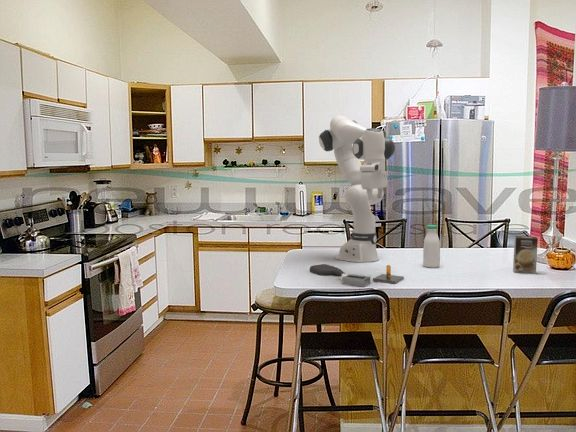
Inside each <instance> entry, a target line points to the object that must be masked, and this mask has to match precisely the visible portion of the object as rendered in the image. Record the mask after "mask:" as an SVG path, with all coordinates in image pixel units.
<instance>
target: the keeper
mask: <svg viewBox="0 0 576 432" xmlns="http://www.w3.org/2000/svg"><path fill="white" fill-rule="evenodd" d="M385 267H386V269H385V270H386V273H385V274H384V273H380V274H379V275H377V276H375V277H374V278H372V282H377V283H384V284H391V285H396V284H398V283H399V282H401V281H403V280H404V279H405V277H404V276H405V275H404V276H401V275H395V274H392V272H391V271H392V267H391V265H390V264H388V265H386V266H385Z"/></svg>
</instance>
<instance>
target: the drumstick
mask: <svg viewBox="0 0 576 432" xmlns="http://www.w3.org/2000/svg"><path fill="white" fill-rule="evenodd" d="M309 271H310V273H313V274H315V275H319V276H324V277H325V276H328V277H329V276H335V278H336V279H339V280H340V281H342V277H344V276H346V275H348V274H347V273H345V271H343V269H341V268H339V267H337V266H334V265H330V264H326V263H322V264H314V265H310V267H309Z"/></svg>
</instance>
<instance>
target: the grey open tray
mask: <svg viewBox="0 0 576 432" xmlns="http://www.w3.org/2000/svg"><path fill="white" fill-rule="evenodd" d="M341 281H342V282H341V284H342V285H345V286H352V287H353V286H354V287H362V288H366V287H368V286H370V285H371V276H364V275H356V274H347V275H346V276H344V277H342V280H341Z"/></svg>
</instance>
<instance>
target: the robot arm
mask: <svg viewBox="0 0 576 432" xmlns="http://www.w3.org/2000/svg"><path fill="white" fill-rule="evenodd" d="M318 142H319V145H320V147H321V148H322V149H323V151H325V152H331V151H333V153H334V157H335V160H336V164H337V165H338V168H339V170H340V172H341V174H342V176H343V179H344V180H345V181H346V182H348V183H349V184H350V185H351V186H350V187H348V188H347V189H346V190H345V193H344V199H345V202H346V204H347V205H348V206H349V207H350V209H351V212H352V217H353V219H352V220H353V231H352V232H351V233H349V235H348V236H349V237H350V239H348V241H346V242H345V243H343V244H342V245H341V246H340V248H339V253H338V254H337V255H335V256H334V259H335V260H338V261H339V260H340V261H347V262H352V263H365V262H366V263H367V262H376V261H378V260H379V257H378V251H377V232H376V216H375V215H374V214H373V213H372V210H371V209H372V208H371V206H372V205H373V206H374V205H376V204H378V203H380V202H381V201H382V200H383V198H384V195H385V193H384V188H387V187H388V175H387V174H388V173H387V171H386V160H387V161H388V160H389V159H390V158H392V156H393V155H394V154H395V150H396V147H395V143H394V141H393V139H392V138H391V137H389V136H385V134H384V130H383V129H381V128H374V127H373V128H372V127H371V128H366V127H364V126H362V125H360V124H358V122H357V121H356V120H353V119H351V118H349V117H348V116H345V115H341V114H338V115H334V117H333V118H332V119H331V120H330V123H329V128H328V129H324V130H323V131H322V132H321V133H319V136H318ZM361 160H364V161H363V164H362V162H361Z"/></svg>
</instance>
